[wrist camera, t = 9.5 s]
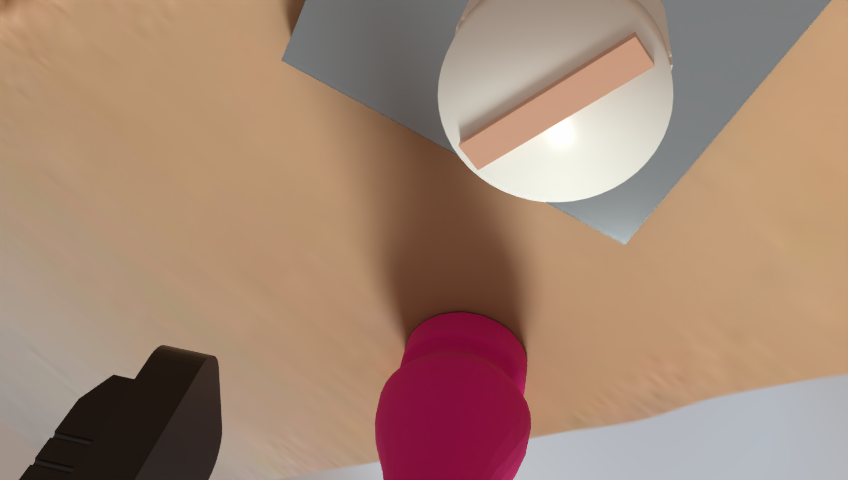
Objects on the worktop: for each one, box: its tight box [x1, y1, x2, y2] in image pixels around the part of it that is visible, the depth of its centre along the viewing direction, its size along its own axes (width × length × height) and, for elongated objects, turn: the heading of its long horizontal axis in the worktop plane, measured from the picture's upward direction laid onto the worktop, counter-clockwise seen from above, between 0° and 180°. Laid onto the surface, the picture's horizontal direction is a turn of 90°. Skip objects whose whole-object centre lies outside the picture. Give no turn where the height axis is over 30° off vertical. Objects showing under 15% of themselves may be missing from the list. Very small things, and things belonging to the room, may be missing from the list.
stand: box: [282, 0, 831, 245], centre depth 25 cm, size 16×16×12 cm
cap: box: [438, 0, 673, 202], centre depth 20 cm, size 5×5×5 cm
